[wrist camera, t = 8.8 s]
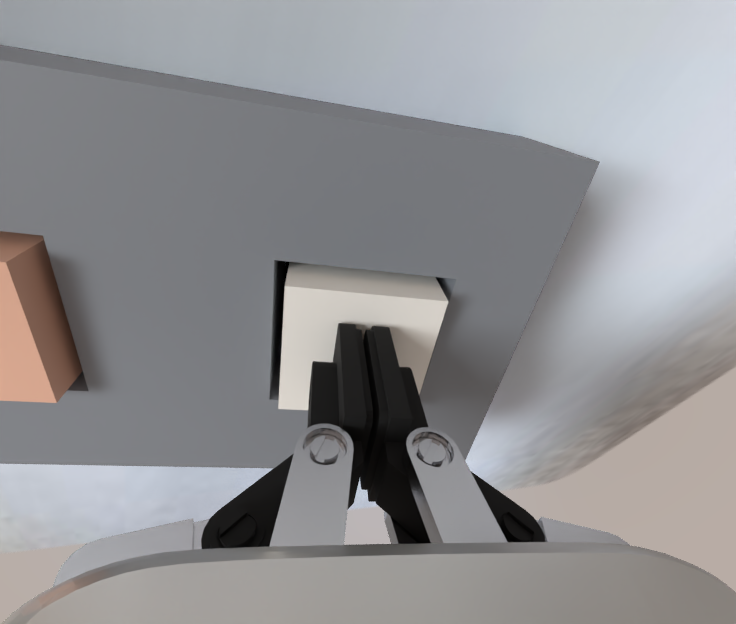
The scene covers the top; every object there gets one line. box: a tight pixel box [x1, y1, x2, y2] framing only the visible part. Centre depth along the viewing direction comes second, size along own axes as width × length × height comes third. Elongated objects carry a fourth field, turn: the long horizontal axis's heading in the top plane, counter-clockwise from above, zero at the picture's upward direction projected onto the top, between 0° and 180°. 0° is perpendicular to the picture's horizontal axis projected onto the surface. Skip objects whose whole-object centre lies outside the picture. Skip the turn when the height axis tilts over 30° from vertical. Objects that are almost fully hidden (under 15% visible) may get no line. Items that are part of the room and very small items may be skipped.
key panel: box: [0, 45, 600, 468], centre depth 15 cm, size 24×14×5 cm, turn 81°
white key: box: [278, 262, 448, 410], centre depth 15 cm, size 5×5×5 cm
